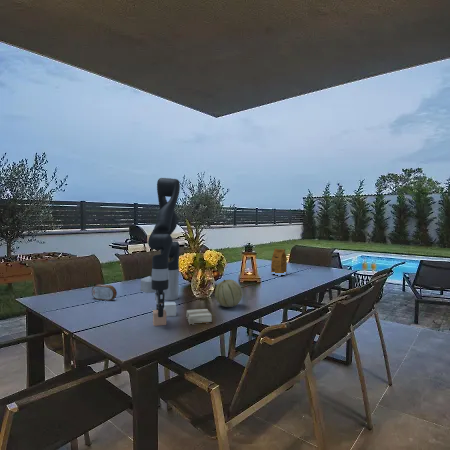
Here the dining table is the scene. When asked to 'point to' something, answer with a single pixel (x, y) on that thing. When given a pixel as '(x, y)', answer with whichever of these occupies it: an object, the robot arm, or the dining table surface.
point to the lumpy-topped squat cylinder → (147, 285)
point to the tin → (104, 292)
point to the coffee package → (279, 261)
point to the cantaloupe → (228, 293)
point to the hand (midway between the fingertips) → (159, 314)
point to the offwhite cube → (170, 308)
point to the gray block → (198, 316)
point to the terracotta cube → (159, 318)
